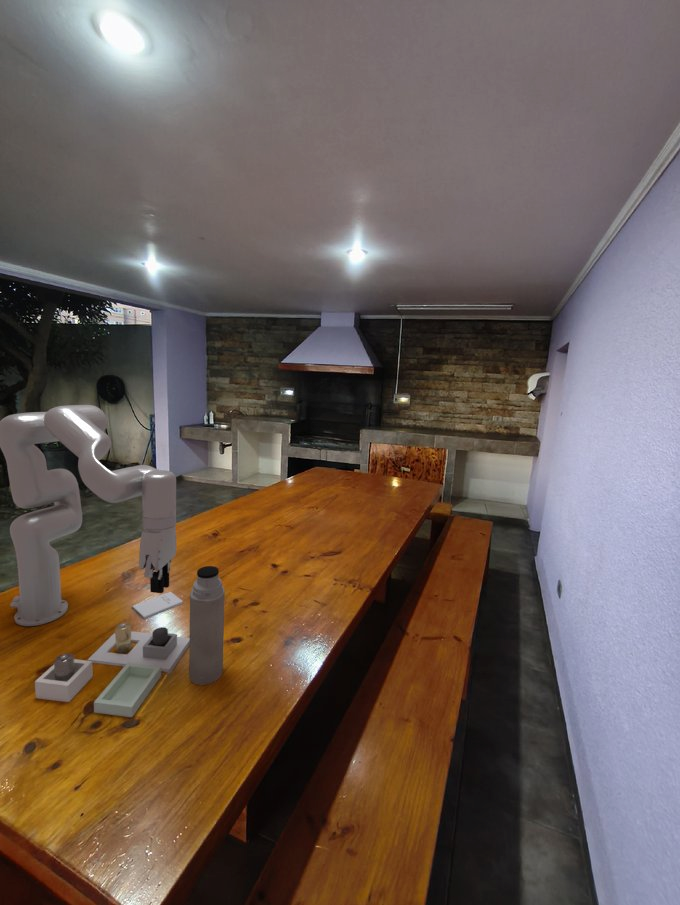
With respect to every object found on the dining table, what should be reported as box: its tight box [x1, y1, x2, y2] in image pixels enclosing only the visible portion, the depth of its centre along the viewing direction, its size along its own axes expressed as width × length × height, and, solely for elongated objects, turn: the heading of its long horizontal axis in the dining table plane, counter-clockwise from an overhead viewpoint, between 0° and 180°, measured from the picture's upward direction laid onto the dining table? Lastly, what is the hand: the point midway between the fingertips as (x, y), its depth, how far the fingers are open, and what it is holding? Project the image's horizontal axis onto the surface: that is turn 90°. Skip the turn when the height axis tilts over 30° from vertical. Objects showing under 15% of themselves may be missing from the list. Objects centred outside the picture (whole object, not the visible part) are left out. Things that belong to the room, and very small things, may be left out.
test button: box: [152, 626, 169, 647], centre depth 102 cm, size 4×4×4 cm
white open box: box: [34, 658, 94, 703], centre depth 89 cm, size 8×8×5 cm
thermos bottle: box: [188, 565, 226, 686], centre depth 96 cm, size 8×8×28 cm
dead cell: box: [53, 653, 75, 682], centre depth 89 cm, size 4×4×8 cm
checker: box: [87, 630, 190, 676], centre depth 103 cm, size 21×12×4 cm, turn 86°
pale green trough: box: [93, 663, 162, 718], centre depth 89 cm, size 8×12×3 cm
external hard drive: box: [131, 591, 184, 620], centre depth 124 cm, size 2×8×12 cm
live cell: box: [114, 622, 132, 654], centre depth 103 cm, size 4×4×8 cm
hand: (159, 588), depth 99 cm, fingers closed
